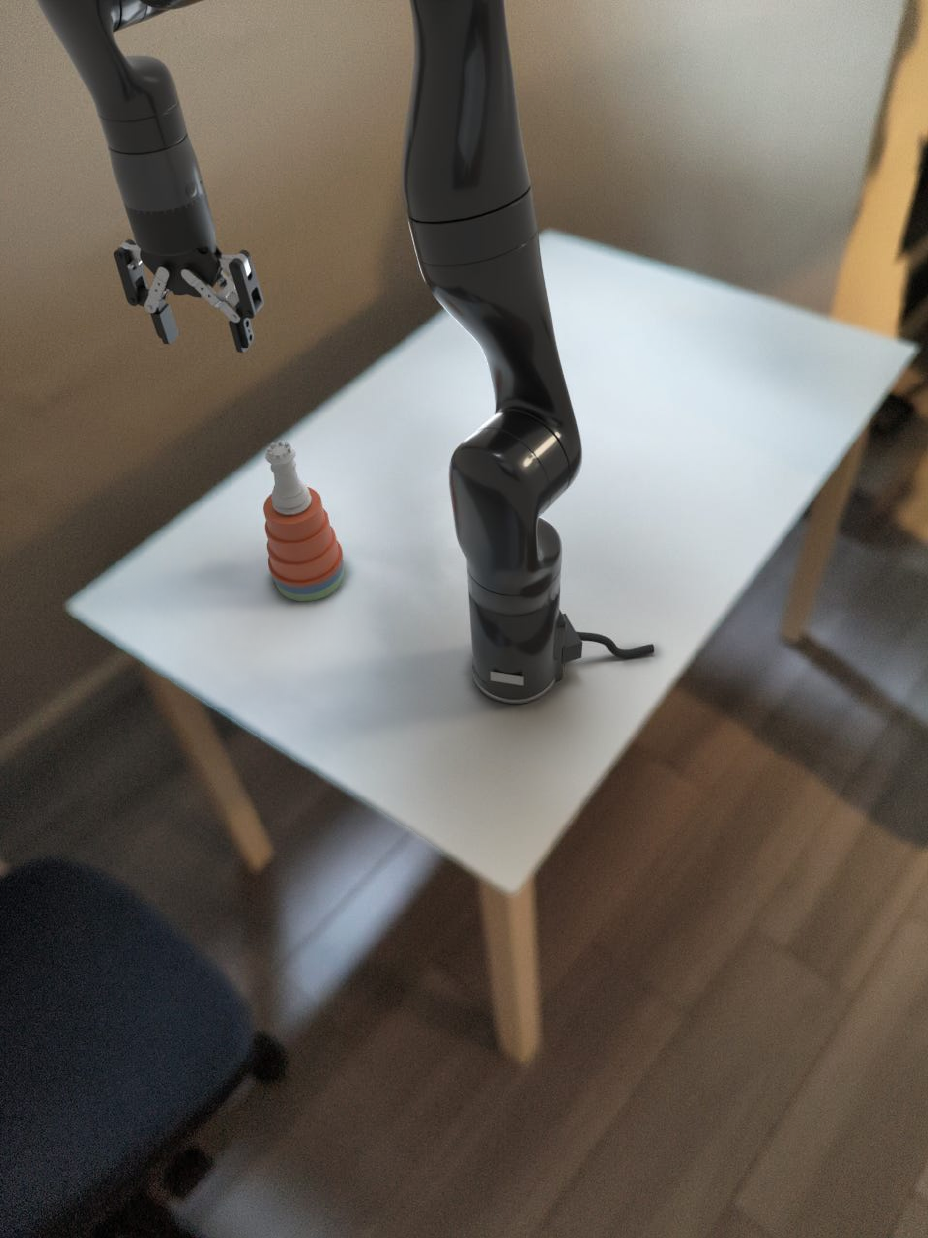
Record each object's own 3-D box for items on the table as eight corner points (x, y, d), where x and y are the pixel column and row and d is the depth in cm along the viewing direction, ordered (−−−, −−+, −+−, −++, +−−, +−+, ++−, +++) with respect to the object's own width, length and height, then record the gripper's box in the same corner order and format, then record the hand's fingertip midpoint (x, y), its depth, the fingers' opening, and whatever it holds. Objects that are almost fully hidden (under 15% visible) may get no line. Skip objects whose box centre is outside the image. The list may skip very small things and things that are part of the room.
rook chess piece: (284, 523, 102) (269, 466, 96) (266, 501, 104) (250, 445, 98) (319, 506, 103) (306, 450, 97) (301, 486, 106) (287, 429, 100)
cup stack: (336, 542, 116) (321, 470, 108) (354, 591, 111) (340, 518, 102) (266, 561, 115) (245, 490, 106) (281, 611, 109) (260, 540, 100)
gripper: (249, 177, 85) (283, 332, 97) (115, 166, 88) (164, 319, 100) (214, 214, 81) (254, 372, 93) (73, 201, 83) (130, 357, 96)
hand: (207, 344), depth 97 cm, fingers open, 8 cm apart
